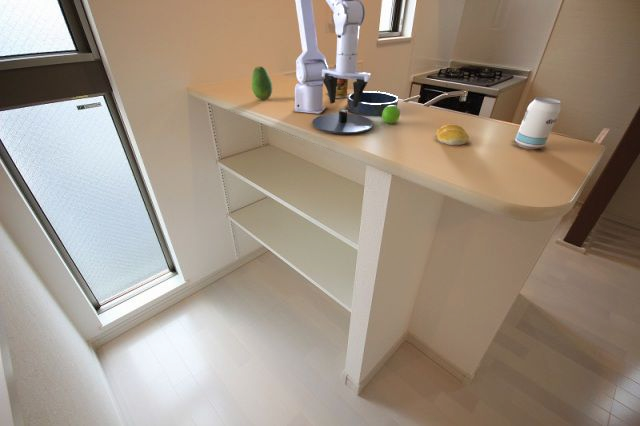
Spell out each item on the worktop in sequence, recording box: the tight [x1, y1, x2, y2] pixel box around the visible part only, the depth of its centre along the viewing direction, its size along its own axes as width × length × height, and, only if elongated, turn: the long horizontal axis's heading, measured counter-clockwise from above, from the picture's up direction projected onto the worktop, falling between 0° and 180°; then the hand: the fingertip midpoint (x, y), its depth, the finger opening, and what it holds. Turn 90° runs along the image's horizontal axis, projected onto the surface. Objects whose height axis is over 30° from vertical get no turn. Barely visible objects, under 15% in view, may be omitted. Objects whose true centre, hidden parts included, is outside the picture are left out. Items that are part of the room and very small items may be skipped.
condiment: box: [327, 63, 349, 99], centre depth 123 cm, size 7×8×12 cm
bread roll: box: [436, 123, 470, 146], centre depth 83 cm, size 8×9×4 cm
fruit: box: [251, 65, 273, 101], centre depth 115 cm, size 8×8×12 cm
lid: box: [312, 109, 374, 135], centre depth 92 cm, size 19×19×4 cm
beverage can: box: [514, 97, 562, 150], centre depth 78 cm, size 7×7×12 cm
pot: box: [346, 91, 399, 117], centre depth 109 cm, size 18×18×4 cm
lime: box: [381, 105, 401, 124], centre depth 95 cm, size 6×6×6 cm
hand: (343, 104), depth 90 cm, fingers open, 7 cm apart
